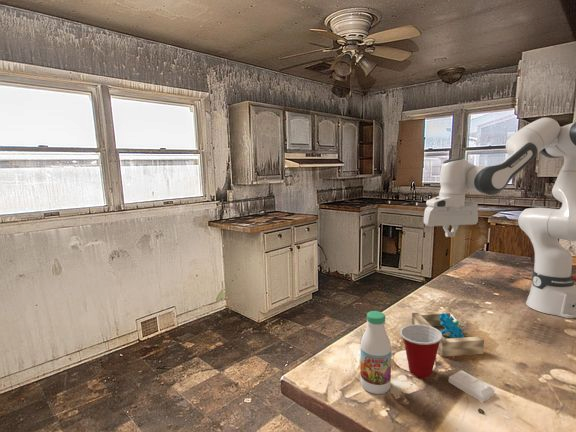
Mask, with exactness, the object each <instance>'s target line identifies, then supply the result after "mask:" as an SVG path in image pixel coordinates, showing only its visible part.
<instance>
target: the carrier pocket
mask: <svg viewBox="0 0 576 432" xmlns="http://www.w3.org/2000/svg"><path fill="white" fill-rule="evenodd" d="M442 313H444V314H445V313H447V314H448V315H449V317H451V313H450V311H448V310H439V311H425V312H412V313H411V314H412V316H411V325H414V324H420V325H427V326H431V327H439V326H441V327H443V326H442V325H441V323H440V322H442V321H441V320H440V319H439V317H441V315H440V314H442ZM449 317H448V318H449ZM484 346H485V339H484V338H483V337H481V336H469V337H465V336H464V338H455V337H454V338H445V337H444V336H443V335H442V339H441V340H440V343H439V347H438V351H437V353H438V354H439V355H440V357H442V358H443V357H456V356H457V357H458V356H469V355H472V356H473V355H483V354H484V348H485V347H484Z"/></svg>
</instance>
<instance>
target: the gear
mask: <svg viewBox="0 0 576 432" xmlns="http://www.w3.org/2000/svg"><path fill="white" fill-rule="evenodd" d="M440 315H441V317H439V319H440V320H441V321H442V322H440V323H441V325H442V326H441V327H444V329H443V330H441V331H440V332H441V333H442V335H444V334H448V333H449V335H448V336H449V339H451V338H465V335H464V334H463V333H464V332H463V329H462V328H460V322H459V320H455V319H454V317H453V316H451V315H450V317H449V315H448V314H447V313H445V314H444V313H442V314H440ZM448 317H449V318H448Z"/></svg>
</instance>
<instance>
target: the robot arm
mask: <svg viewBox="0 0 576 432" xmlns="http://www.w3.org/2000/svg"><path fill="white" fill-rule="evenodd" d="M505 151H506V153H507V155H508V157H507V158H505V159H504V160H503V161H502V162H500V163H499V164H496V165H495V164H494V165H487V166H485V165H484V166H477V165H475V164H473V163H470V162H468V161H467V160H466V159H465V158H464V157H455V158H449V159H446V160H444V161H443V162H442V163H441V168H440V173H439V184H440V190H439V193H438V195H437V196H435V197H432V198H430V199H427V200H426V202H425V203H426V207H425V209H424V213H423V224H424V225H425V226H427V227H442V229H443V230H444V232H445V233H444V235H445V237H446V238H448V237H449V238H452V237H453V238H454V237H455V236H456V232H457V230H458V229H459V226H466V225H471V226H472V225H476V224H478V222H479V212H478V207H479V205H478V203H477V201H475V200H474V199H471V200H466V191H467V192H472V193H480V194H486V195H490V196H491V195H492V196H493V195H497V194H499V193H501V192H502V191H504V189H505V188H506V187H507V186H508V184H509V183H510V181H512V179H513V178H514V177H515V176H516V175H517V174H519V173H520V172H521V171H522V170H524V169H525V168H526V167H527V166H529V164H530V163H531V162H532V161H534V159H535V158H536V157H537V155H538V153H540V154H541V155H543V157H546V158H549V159H556V158H561V157H563V165H562V166H561V169H560V170H559V174H558V175H557V177H556V180H555V182H554V185H553V187H552V189H551V193H552V196H553V197H554V198H555V200H556V201H559V202H560V203H562V204H561V207H560V208H549V207H542V206H541V207H529V208H525V209H524V210H522V212H520V214H519V215H518V219H517V220H518V221H517V222H518V226H519V228H520V229H521V230H522V231H523V232H524V233H525V234H526V235H527V237H528V238H529V240H530V242H531V245H532V247H533V251H534V264H533V265H534V268H533V270H532V272H531V281H532V282H531V285H530V289H529V294H528V296H527V299H526V302H525V304H526V306H527V307H528V308H531V309H533V310H535V311H538V312H540V313H544V314H548V315H552V316H558V317H562V318H566V319H574V318H575V319H576V285H575V282H574V281H576V275H572V269H573V268H572V266H573V255H572V253H571V252H570V251H569V250H567V248H564V246H562V244H561V243H560V241H559V240H564V241H570V242H576V121H575V122H571V123H569V124H565V125H563V126H560V124H559V123H558V121H557V120H555V119H554V118H551V117H541V118H538V119H536V120H534V121H531V122H530V123H528V124H526V125H524V126H523V127H521V128H519V130H517V131H516V132H515V133H513V134H511V136H509V138H508V139H506V143H505ZM450 226H451V227H452V228H451V230H450V231H449V229H450Z"/></svg>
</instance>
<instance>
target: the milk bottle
mask: <svg viewBox="0 0 576 432" xmlns="http://www.w3.org/2000/svg"><path fill="white" fill-rule="evenodd" d="M366 323H367V326H366V328H365V331H364V333H363V335H362V338H361V340H360V341H361V342H360V356H359V357H360V361H359V362H360V363H359V364H360V371H359V372H360V374H359V375H360V377H359V378H360V379H359V380H360V385H361V386H362V388H363V389H364V390H365V391H366V392H368V393H370V394H375V395H383V394H386V393H387V392H388V391H390V388H391V382H392V380H391V378H392V375H391V374H392V366H391V365H392V346H391V340H390V338H389V335H388V334H387V331H386V327H385V325H386V314H385V313H384V312H381V311H378V310H372V311H369V312H367V313H366Z"/></svg>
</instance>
